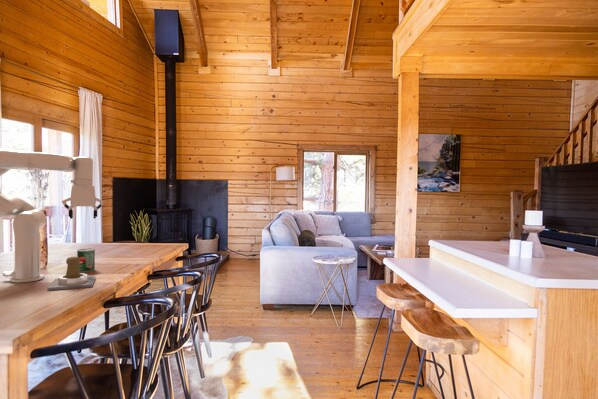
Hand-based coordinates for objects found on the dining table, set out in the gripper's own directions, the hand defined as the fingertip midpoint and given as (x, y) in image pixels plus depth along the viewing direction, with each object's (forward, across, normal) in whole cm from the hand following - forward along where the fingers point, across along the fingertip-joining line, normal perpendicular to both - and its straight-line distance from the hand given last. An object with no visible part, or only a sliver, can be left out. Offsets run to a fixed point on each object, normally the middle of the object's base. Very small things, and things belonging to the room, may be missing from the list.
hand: (83, 218), depth 171 cm
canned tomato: (+28, 0, +14) cm, 32 cm away
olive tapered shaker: (+27, -2, -14) cm, 31 cm away
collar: (+28, -2, -14) cm, 32 cm away
